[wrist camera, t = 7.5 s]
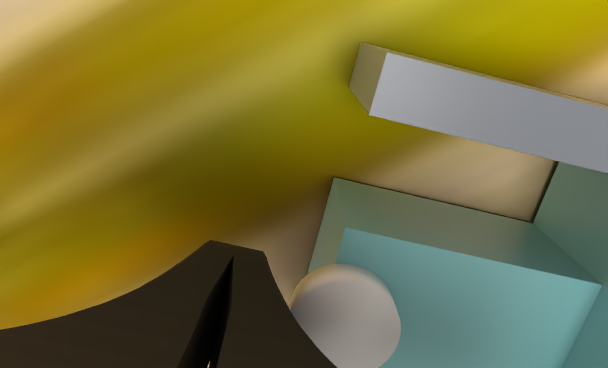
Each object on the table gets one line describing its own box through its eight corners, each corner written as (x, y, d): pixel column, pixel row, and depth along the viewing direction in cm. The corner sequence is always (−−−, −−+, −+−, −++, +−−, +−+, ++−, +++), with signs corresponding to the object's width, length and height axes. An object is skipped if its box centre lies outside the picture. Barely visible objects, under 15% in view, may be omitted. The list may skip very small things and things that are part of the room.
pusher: (503, 400, 16) (587, 554, 12) (260, 352, 16) (245, 496, 11) (612, 164, 14) (776, 240, 9) (328, 94, 13) (345, 138, 8)
